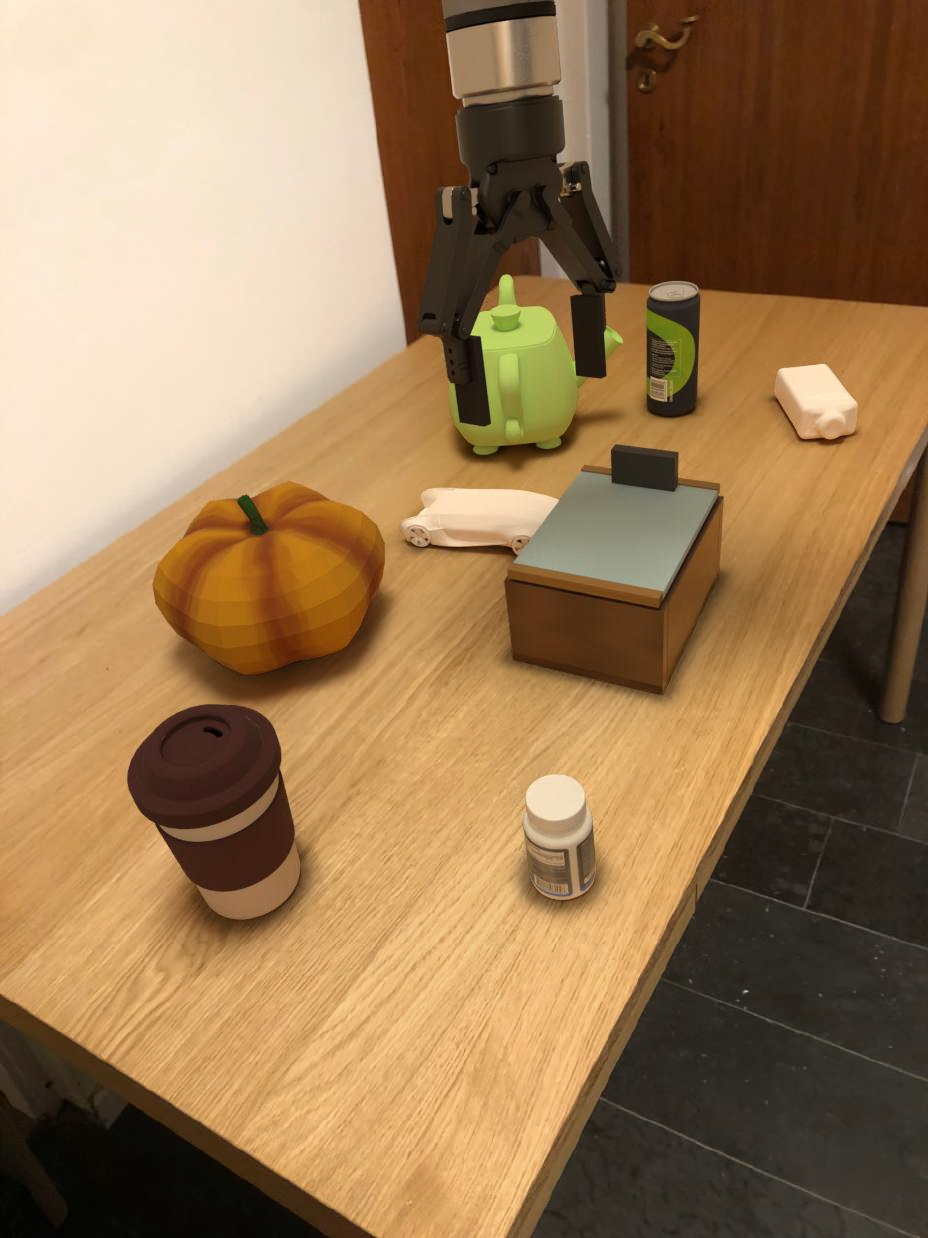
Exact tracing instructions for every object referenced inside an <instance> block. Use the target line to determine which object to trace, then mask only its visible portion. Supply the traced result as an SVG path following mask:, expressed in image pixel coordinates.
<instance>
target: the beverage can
mask: <svg viewBox="0 0 928 1238" xmlns="http://www.w3.org/2000/svg"><path fill="white" fill-rule="evenodd" d="M648 295H649V296H648V297H647V299H646V367H645V369H646V375H645V376H646V382H645V383H646V384H645V385H646V395H645V396H646V405H647V407H648V408H649V409H650V410H651V411H652V412H653V413H654V414H657V415H659V416H663V417H678V416H682V415H685V414H687V413H689V412H690V411H691V410H692V409H693V408H694V407H695V406H696V404H697V402H698V382H699V381H698V379H699V378H698V377H699V352H700V327H701V325H700V324H701V300H702V299H701V294H700V293H699V287H698V286H697V284H694V282H693V283H692V282H689V281H683V280H672V281H665V282H661V283H657V284H655V285H653V286H651V287H650V288H649V289H648Z"/></svg>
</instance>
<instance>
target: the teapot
mask: <svg viewBox="0 0 928 1238" xmlns="http://www.w3.org/2000/svg"><path fill="white" fill-rule="evenodd" d="M471 335H474V336H481V342H482V350H483V359H484V367H485V376H486V384H487V392H488V401H489V409H490V418H491V424H490V425H488V426H485V427H482V426H477V425H471V424H466V423H460V422H459V414H458V407H457V399H456V392H455V385H454V383H450V381H449V380H448V385H447V387H448V388H447V389H448V393H447V394H448V395H447V397H448V408H449V413H450V416H451V419H452V421H453V424H454V425H455V427H456V429H457V430H458V432H459V433H460V435H461V436H462V437H463V438H464V439H465V440H466V442H468V443H469V444H470V445H472V446H473V448H472V451H473V453H475V454H477V455H482V456H484V455H485V456H486V455H491V454H493V453H496V452H497V451H498V450H499V448H500V447H501V446H502V447H503V446H504V447H505V446H514V445H515V446H517V445H523V444H524V445H525V444H533V443H534V444H535V446H536V447H537V448H539V449H543V450H551V449H555V448H557V447H559V446H560V445H561V444H562V439H561V436H563V435H564V434H565V433H566V432H567V430H568V428H569V426H570V425H571V424H572V421H573V418H574V416H575V413H576V411H577V407H578V403H579V396H580V395H579V389H580V388H581V386H582V385H584V384H585V383H586V381H588V380H589V379H590V377H582V376H576V369H575V359H574V360H573V357H572V354H571V350H570V349H569V347H568V344H567V342H566V339H565V337H564V336H563V333H562V331H561V329H560V327H559V324H558V323H557V321H556V318H555V317H554V315H553V314H552V312H551V311H550V310H549V309H547V308H545V307H544V306H540V305H537V306H536V305H535V306H534V305H533V306H520V305H518V303H517V299H516V295H515V286H514V280H513V277H512V276H511V275H510V274H503V275H502V276H500V278H499V282H498V304H497V306H495V307H493V308H491V309H490V310H485V311H484V310H483V311H480V312H479V314H478V317H477V320H476V322H475V325H474V327H473V330H472V332H471ZM604 339H605V356H606V361H607V360H608V359H609V358H610V357H611V356H612V355H613V354H614V353H615V352H616V351H617V350H618V349H619V348H620V347H621V346H622V345H623V344H624V340H623V338H622V337H621V335H620V334H619V333H618V332H617V331H616V330H614V329H613V328H612V327H610V326H608V325H606V331H605V332H604Z"/></svg>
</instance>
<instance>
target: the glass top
mask: <svg viewBox="0 0 928 1238" xmlns="http://www.w3.org/2000/svg"><path fill="white" fill-rule="evenodd" d="M679 455H680V453H679V451H673V450H665V449H658V448H649V447H644V446H643V447H642V446H634V445H627V444H618V443H615V444H614V445H613V446H612V448H611V449H610V467H611V468H610V467H603V466H598V465H590V464H583V466H582V467H581V468H580V471H579V473H578V474H577V476H576V477H575V479H573V480H572V482H571V483H570V485H569V486H568V488H567V489H566V490H565V492H563V494H562V495H561V497H560V498H559V499H558V500H559V501H558V503H557V504H556V505H555V507H554V508H553V509H552V511H551V512H550V513H549V515H548V516H547V517H546V519H545V520H544V522H543V523H542V524H541V526H540V527H539V528H538V530H537V531H536V532H535V534H534V535H533V536H532V538H531V539H530V540H528V543H527V544H526V546H525V547H524V549H523V550H522V551H521V553H520V554H519V555H517V556H516V558H515V559H514V561H513V562H510V564H509V565H508V566H507V568H506V574H507V576H508V578H510V579H515V580H520V581H525V582H530V583H535V584H540V585H545V586H551V587H556V588H561V589H566V590H571V591H576V592H581V593H586V594H591V595H596V596H601V597H606V598H611V599H616V600H621V601H626V602H631V603H636V604H641V605H646V606H651V607H656V608H659V607H660V605H661V603H662V601H663V599H664V597H665V595H666V593H667V591H668V589H669V588H670V586H671V584H672V582H673V580H674V578H675V576H676V574H677V572H678V570H679V569H680V567H681V565H682V563H683V561H684V559H685V557H686V555H687V553H688V552H689V550H690V548H691V546H692V544H693V542H694V540H695V538H696V536H697V535H698V533H699V531H700V529H701V527H702V525H703V523H704V521H705V519H706V518H707V516H708V514H709V512H710V510H711V508H712V506H713V504H714V502H715V501H716V499H717V497H718V495H719V496H720V493H721V483H719V482H714V481H706V480H699V479H698V480H697V479H692V478H691V479H690V478H684V477H679V459H680V458H679V457H680V456H679Z"/></svg>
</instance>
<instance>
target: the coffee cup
mask: <svg viewBox="0 0 928 1238" xmlns="http://www.w3.org/2000/svg"><path fill="white" fill-rule="evenodd" d="M128 765H129V766H128V768H127V773H126V774H127V775H126V783H127V788H128V791H129V794H130V796H131V798H132V800H133V801H134V804H135V806H136V808H137V809H138V811H139V813H140V814H142V816H144V817H145V818H146V819H147V820H149V821H151V822H152V823H154V826H155V828H156V829H157V831H158V832H159V834H160V836H161V838H162V839H163V840H164V842H165V844H166V846H167V847H168V849H169V850H170V852H171V854H172V855H173V857H174V858H175V860H176V861H177V863H178V865H179V866H180V868H181V869H182V872H183V873H184V874H185V876H186V877H187V878H188V879H189V880H190V881H191V882H192V883H193V884H194V885H195V886H196V888H197V890H198V891H199V893H200V895H201V896H202V897H203V900H204V901H205V902H206V904H207V905H208V907H209V908H210V909H211V910H212V911H214V912H215V913H216V914H217V915H218V916H219V915H220V916H222V917H224V918H227V919H231V920H250V919H251V920H252V919H255V918H259V917H261V916H264V915H266V914H268V913H270V912H273V911H275V910H276V909H277V908H278V907H279V906H281V905H282V904H283V903H285V901H287V899H288V898H289V897H290V896H291V895H292V893H293V891H294V890H295V889H296V886H297V885H298V882H299V880H300V874H301V860H300V856H299V852H298V847H297V843H296V839H295V836H296V835H295V834H296V831H295V823H294V818H293V814H292V810H291V807H290V806H291V805H290V803H289V797H288V793H287V789H286V786H285V781H284V777H283V773H282V770H281V765H282V746H281V743H280V740H279V737H278V734H277V731H276V729H275V726H274V725H273V723H272V722H271V721H270V720H269V718H267V717H266V716H265V715H263V714H262V713H261V712H259V711H257V710H255V709H254V708H250V707H247V706H244V705H239V704H224V703H223V704H221V703H205V704H198V705H194V706H189V707H187V708H185V709H182V710H180V711H177V712H176V713H174V714H172V715H170V716H169V717H167V718H165V720H163V721H161V722H160V723H159V724H158V725H157V726H156V727H155V729H153V731H152V732H151V733H150V734H149V735H148V736H147V737H146V738H144V740H143V741H142V742H141V744H139V746H138V747H137V748H136V750H135V752H134V753H133V755H132V757H131V759H130V762H129V764H128Z"/></svg>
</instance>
